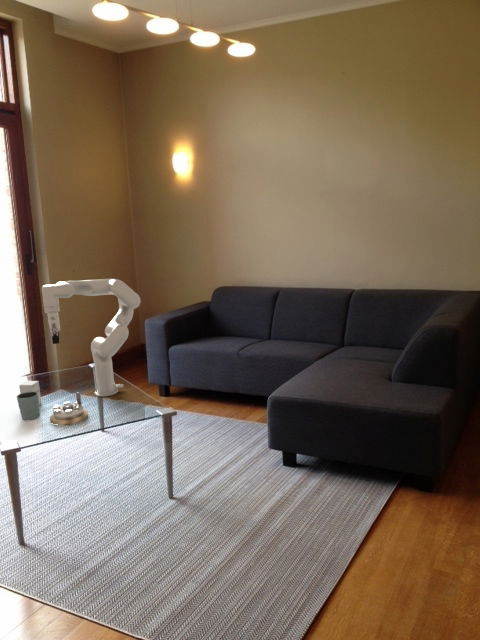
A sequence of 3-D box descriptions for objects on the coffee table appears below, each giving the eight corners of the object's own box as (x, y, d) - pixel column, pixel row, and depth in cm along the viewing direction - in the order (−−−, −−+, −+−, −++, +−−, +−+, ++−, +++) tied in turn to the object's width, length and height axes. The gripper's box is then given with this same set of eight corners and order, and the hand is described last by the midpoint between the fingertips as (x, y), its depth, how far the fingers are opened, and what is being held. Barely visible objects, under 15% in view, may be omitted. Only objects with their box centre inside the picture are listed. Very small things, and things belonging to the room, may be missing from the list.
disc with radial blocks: (82, 407, 293) (79, 388, 291) (84, 416, 280) (82, 396, 278) (53, 412, 288) (50, 392, 286) (54, 421, 276) (52, 401, 273)
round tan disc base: (86, 409, 296) (85, 404, 295) (90, 421, 279) (89, 416, 279) (49, 415, 290) (48, 411, 290) (51, 428, 274) (50, 423, 273)
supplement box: (34, 408, 303) (31, 385, 300) (21, 408, 304) (18, 385, 301) (42, 403, 310) (38, 380, 307) (29, 403, 311) (26, 380, 308)
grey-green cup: (31, 422, 284) (28, 398, 281) (15, 420, 287) (11, 397, 285) (45, 414, 293) (42, 391, 290) (29, 412, 296) (25, 390, 294)
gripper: (59, 311, 288) (63, 344, 292) (59, 305, 305) (63, 336, 308) (44, 312, 286) (48, 346, 290) (44, 306, 303) (48, 338, 306)
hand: (56, 341), depth 299 cm, fingers open, 9 cm apart
